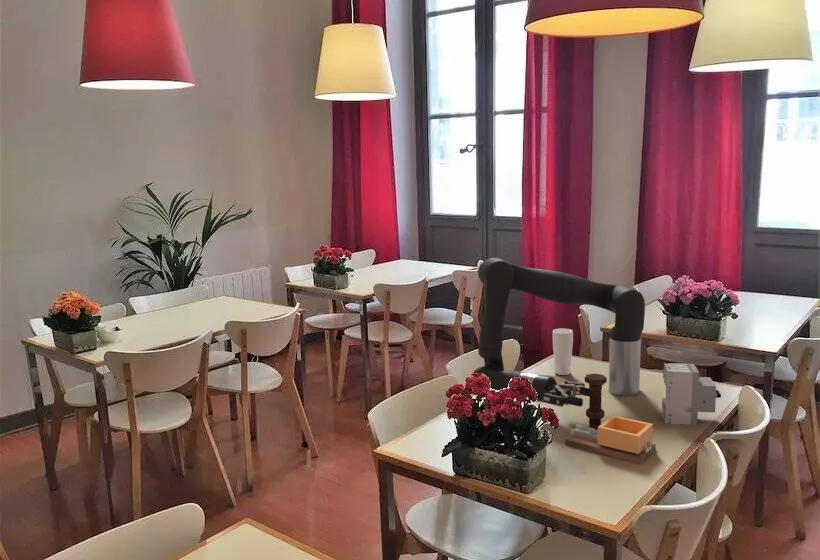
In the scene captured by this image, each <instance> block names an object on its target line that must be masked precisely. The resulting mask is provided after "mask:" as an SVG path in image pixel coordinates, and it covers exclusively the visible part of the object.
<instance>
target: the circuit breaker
mask: <svg viewBox="0 0 820 560" xmlns="http://www.w3.org/2000/svg"><path fill="white" fill-rule="evenodd" d="M663 365H664V366H663V371H662V372H663V373H662V378H663V382H664V385H665V397H662V398H661V399H662V400H661V415H662V418H663V421H664V422H665V424H670V425H671V424H672V425H692V426H693V425H694V426H697V425H698V416H699V413H716V402H717V398H718V399H721V398H722V394H721V393H720V391H719V390H718V389H717V385H716V384H715V382H714V381H713V379H712V378H711V377H707V376H700V371H699V370H698V368H697V367H696V365H695V364H694V363H673V362H672V363H670V362H669V363H664V364H663Z"/></svg>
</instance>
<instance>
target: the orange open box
mask: <svg viewBox="0 0 820 560" xmlns="http://www.w3.org/2000/svg"><path fill="white" fill-rule="evenodd" d="M653 435H654V423H650V422H646V421H640V420H636V419H632V418H627V417H622V416H619V415H612V416H610V417H609V418H608V419H606V420H605V421H604V422H601V425H600V426H599V427H598V443H597V444H599V445H603V446H608V447H612V448H616V449H620V450H624V451H628V452H632V453H636V454H639V453H640V452H641V451H642V450H643V446H644V445H646V446H647V442H648V441H650V442H651V443H652V442H653V438H654V437H653Z"/></svg>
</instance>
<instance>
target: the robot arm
mask: <svg viewBox="0 0 820 560" xmlns="http://www.w3.org/2000/svg"><path fill="white" fill-rule="evenodd" d="M477 269H478V270H477V275H478V279H479V280H480V282H481V283H482V284H483V285H484V286H485V287H486V288H485V289H486V304H485V311H484V315H483V318H482V321H481V324H480V330H479V337H478V351H477V352H478V355H479V357H480V358H481V359H482V358H483V360H484V365H483V366H481V367H478V368H476V369H475V370H474V371H473V372H472V374H473V373H483V374H485V375H486V376H487V377H489V379H490V381H491V388H492V389H495V390H500V389H503V388H507V387H508V383H509V381H510V379H511V378H514V377H525V378H527V379H528V380H529V382H530V383H531V385H532V387H533V388H534V389H535V390H536V392H537V394H538V399H537V401H536V402H540V403H545V404H548V405H553V406H558V407H564V405H565V406H569V405H571V406H574V407H575V406H576V407H582V406H583V405H584V399H583V398H582V397H579V396H584V397H589V396H590V395H589V392H590V390H589V387H587V386H586V385H585V382H578V381H572V380H568V381H565V384H564V383H560V384H557V383H556V381H555V379H554V378H553V377H550V376H544V375H545V374H537V373H534V372H524V371H517V370H513V369H512V370H505V368H504V360H503V359H504V358H503V355H502V351H503V342H504V329H505V327H504V326H505V321H506V312H507V309H508V307H507V306H508V301H509V297H510V294H511V290H516V291H521V292H524V293H525V294H528V295H532V296H533V297H537V298H539V299H542V300H546V301H550V302H554V303H558V304H562V305H563V304H564V305H570V306H571V305H572V306H583V305H584V306H585V305H588V306H594V307H598V308H600V309H603V310H606V311H609V312H611V313H613V314H615V318H614V326H613V327H611V328H610V330H609V349H608V350H609V354H608V355H609V357H608V358H609V359H608V391H609V392H610V393H611V394H614V395H617V396H626V397H629V396H635V395H638V394H640V384H641V383H640V376H641V374H640V373H641V343H642V342H641V341H642V340H641V339H642V338H641V337H642V333H643V331H644V328H645V315H646V301H645V298H644V295H643V294H642V292H640V291H639V290H637V289H634V288H632V287H630V286H627V285H625V284H623V285H622V284H620V285H619V284H611V283H602V282H596V281H593V280H589V279H588V278H584V277H581V276H577V275H575V274H572V273H571V274H570V273H566V272H561V271H557V270H550V269H544V268H543V269H542V268H532V267H526V266H521V265H518V264H514V263H511V262H509V261H506V260H504V259H501V258H498V257H489V258H487V259H485V260H484V261H482V262H481V263H480V264H479V266H478V268H477ZM585 386H586V387H585Z"/></svg>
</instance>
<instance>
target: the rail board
mask: <svg viewBox="0 0 820 560" xmlns="http://www.w3.org/2000/svg"><path fill="white" fill-rule="evenodd" d="M597 443H598V442H596V441H592V440H588V439H584V438H580V437H576V436H572V435H571V434H570V435H569V436H568V437H567V438H565V439H564V445H565V446H568V447H573V448H575V449H576V448H577V449H580V450H584V451H588V452H592V453H596V454H599V455H603V454H604V456H607V455H608V456H607V457H611V456H612V458H615V457H616V459H619V458H620V459H619V460H623V459H624V460H623V461H627V460H628V461H627V462H631V461H632V463H636V464H640V465H641V463H642V462H643V461H644V460H645V459H646V458H647V457H648V456H649V455H650V456H651V455H652V454H653V453H654V452H655V451H656V450H657V449H656V448H657V446H656V445H657V444H656V443H654V442H653V443H652V442H651V449H650V450H649V451H648V452H647V453H642V452H640V453H639V454H636V453H632V452H628V451H624V450H620V449H616V448H612V447H608V446H603V445H599V444H597ZM653 451H654V452H653ZM652 452H653V453H652ZM650 456H649V457H650ZM649 457H648V458H649ZM648 458H647V459H648ZM647 459H646V460H647ZM646 460H645V461H646ZM645 461H644V462H645ZM644 462H643V463H644ZM643 463H642V464H643Z"/></svg>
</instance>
